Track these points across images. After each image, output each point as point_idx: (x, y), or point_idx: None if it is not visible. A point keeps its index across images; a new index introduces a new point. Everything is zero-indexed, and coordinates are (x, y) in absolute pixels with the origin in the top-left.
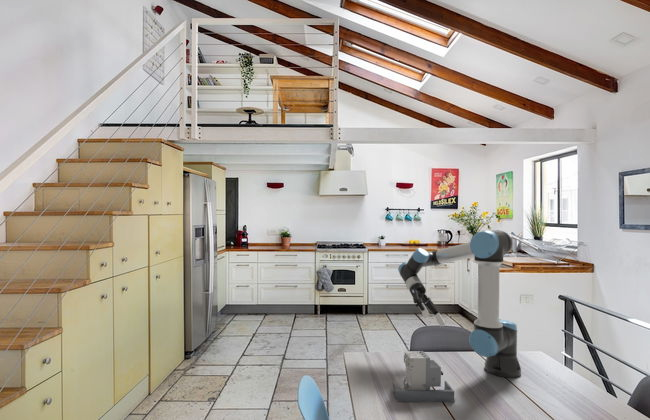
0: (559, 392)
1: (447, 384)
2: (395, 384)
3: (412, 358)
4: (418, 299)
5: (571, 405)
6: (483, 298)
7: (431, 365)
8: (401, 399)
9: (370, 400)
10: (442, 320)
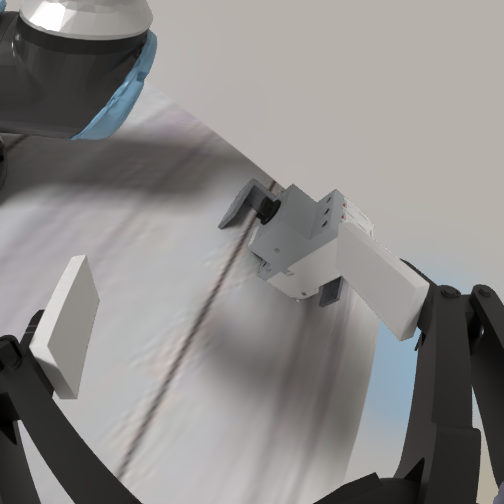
0: None
1: (243, 201)
2: (341, 282)
3: (368, 222)
4: (486, 288)
5: None
6: None
7: (307, 205)
8: None
9: (364, 301)
10: (78, 281)
